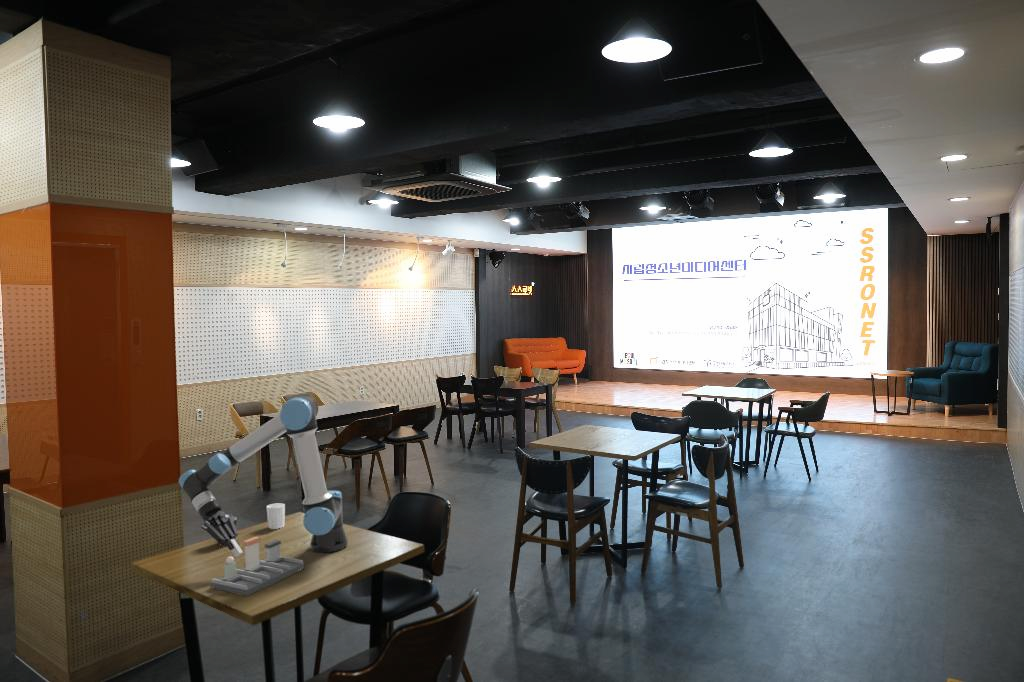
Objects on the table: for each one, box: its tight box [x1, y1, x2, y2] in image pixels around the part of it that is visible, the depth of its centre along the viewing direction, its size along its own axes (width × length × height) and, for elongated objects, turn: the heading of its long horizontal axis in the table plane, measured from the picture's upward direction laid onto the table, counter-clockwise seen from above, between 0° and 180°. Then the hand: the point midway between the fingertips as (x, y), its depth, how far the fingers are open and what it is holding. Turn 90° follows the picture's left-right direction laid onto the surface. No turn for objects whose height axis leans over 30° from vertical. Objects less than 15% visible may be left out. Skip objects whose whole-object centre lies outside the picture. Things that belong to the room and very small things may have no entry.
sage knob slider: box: [221, 555, 241, 582], centre depth 246 cm, size 4×5×8 cm
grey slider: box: [264, 539, 282, 563], centre depth 264 cm, size 4×6×7 cm
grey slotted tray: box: [210, 555, 305, 597], centre depth 254 cm, size 18×27×3 cm, turn 153°
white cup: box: [266, 502, 286, 530], centre depth 314 cm, size 8×8×10 cm
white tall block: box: [242, 536, 262, 572], centre depth 255 cm, size 4×6×12 cm
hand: (239, 554), depth 257 cm, fingers closed
